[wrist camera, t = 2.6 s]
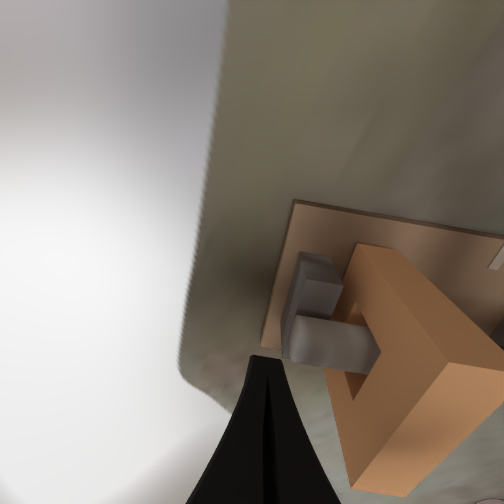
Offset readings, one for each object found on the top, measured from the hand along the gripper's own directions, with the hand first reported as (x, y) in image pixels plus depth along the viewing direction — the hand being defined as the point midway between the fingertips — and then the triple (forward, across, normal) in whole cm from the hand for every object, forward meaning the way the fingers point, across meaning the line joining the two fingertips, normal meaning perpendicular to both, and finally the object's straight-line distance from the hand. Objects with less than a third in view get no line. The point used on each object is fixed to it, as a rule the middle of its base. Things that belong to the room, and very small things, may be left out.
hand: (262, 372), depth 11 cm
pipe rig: (+8, -10, 0) cm, 13 cm away
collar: (+7, -6, 0) cm, 9 cm away
